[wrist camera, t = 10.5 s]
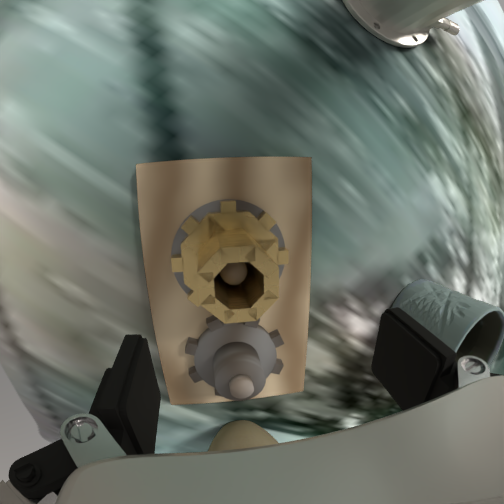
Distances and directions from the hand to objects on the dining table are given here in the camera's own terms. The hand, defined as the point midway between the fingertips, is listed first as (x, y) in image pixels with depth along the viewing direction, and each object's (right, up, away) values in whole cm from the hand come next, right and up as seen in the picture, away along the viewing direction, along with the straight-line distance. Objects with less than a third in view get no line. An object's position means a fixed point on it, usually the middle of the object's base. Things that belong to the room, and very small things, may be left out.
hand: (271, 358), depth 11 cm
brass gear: (-3, +3, +15) cm, 16 cm away
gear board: (-3, 0, +18) cm, 18 cm away
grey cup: (+20, -3, +23) cm, 30 cm away
